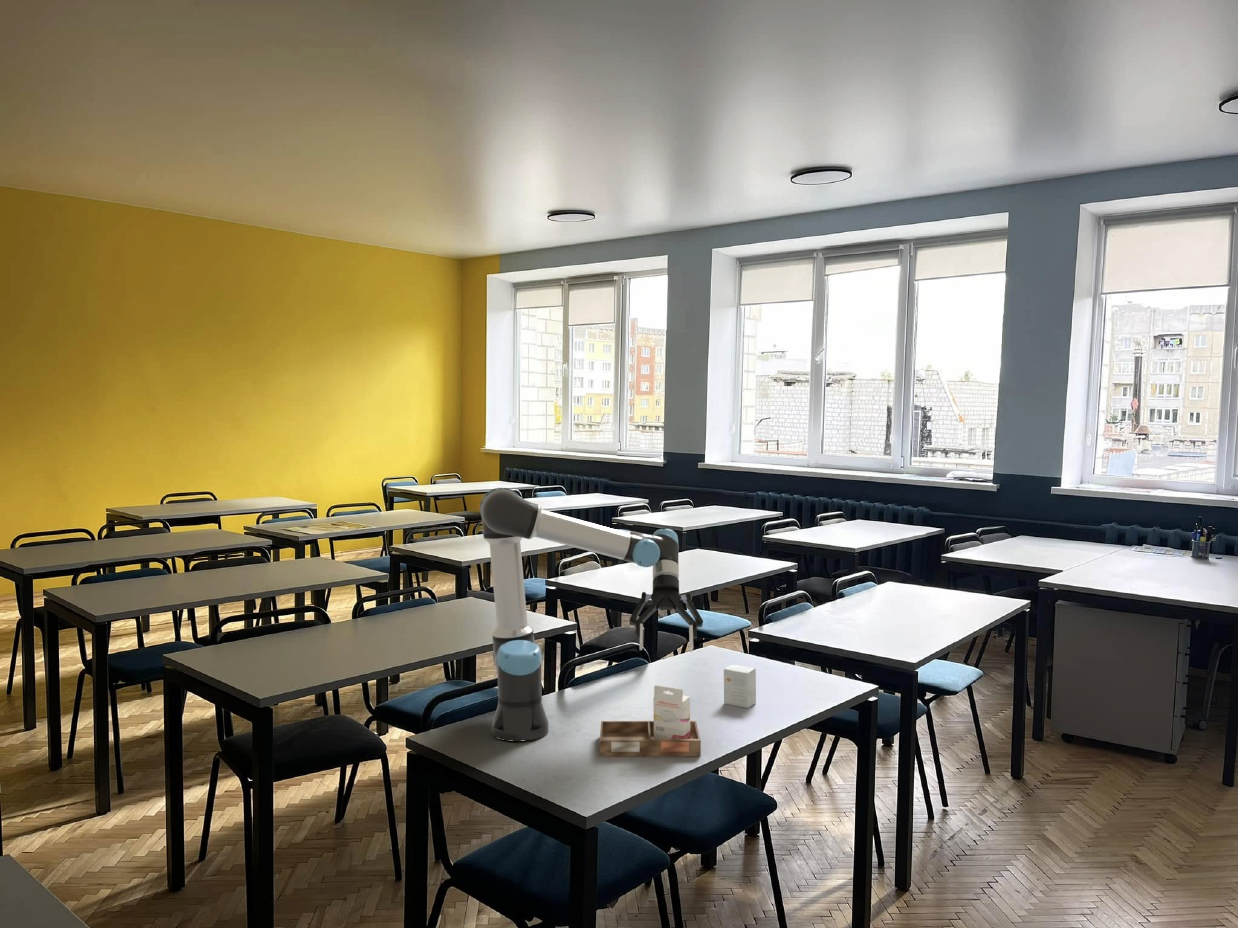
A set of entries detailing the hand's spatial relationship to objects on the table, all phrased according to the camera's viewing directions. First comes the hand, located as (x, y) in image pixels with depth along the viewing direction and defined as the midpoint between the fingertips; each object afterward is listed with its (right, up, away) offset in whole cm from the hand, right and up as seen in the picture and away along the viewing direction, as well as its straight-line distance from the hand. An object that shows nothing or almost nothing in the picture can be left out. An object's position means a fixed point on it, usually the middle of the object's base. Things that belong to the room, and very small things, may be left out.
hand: (666, 648), depth 226 cm
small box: (+23, -21, +21) cm, 37 cm away
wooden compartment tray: (-5, -23, -11) cm, 25 cm away
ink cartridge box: (+1, -22, -10) cm, 24 cm away
